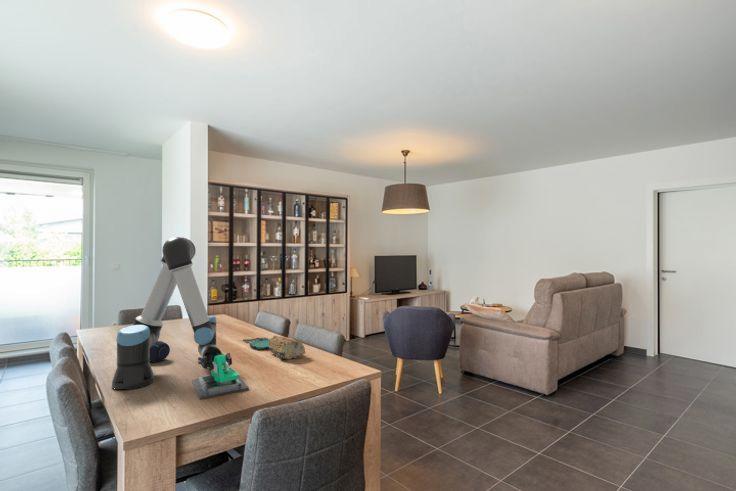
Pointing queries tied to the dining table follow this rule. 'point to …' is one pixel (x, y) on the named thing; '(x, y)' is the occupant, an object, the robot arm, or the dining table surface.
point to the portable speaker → (159, 351)
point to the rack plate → (217, 387)
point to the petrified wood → (286, 347)
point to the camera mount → (223, 370)
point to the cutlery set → (258, 343)
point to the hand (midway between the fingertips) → (222, 368)
